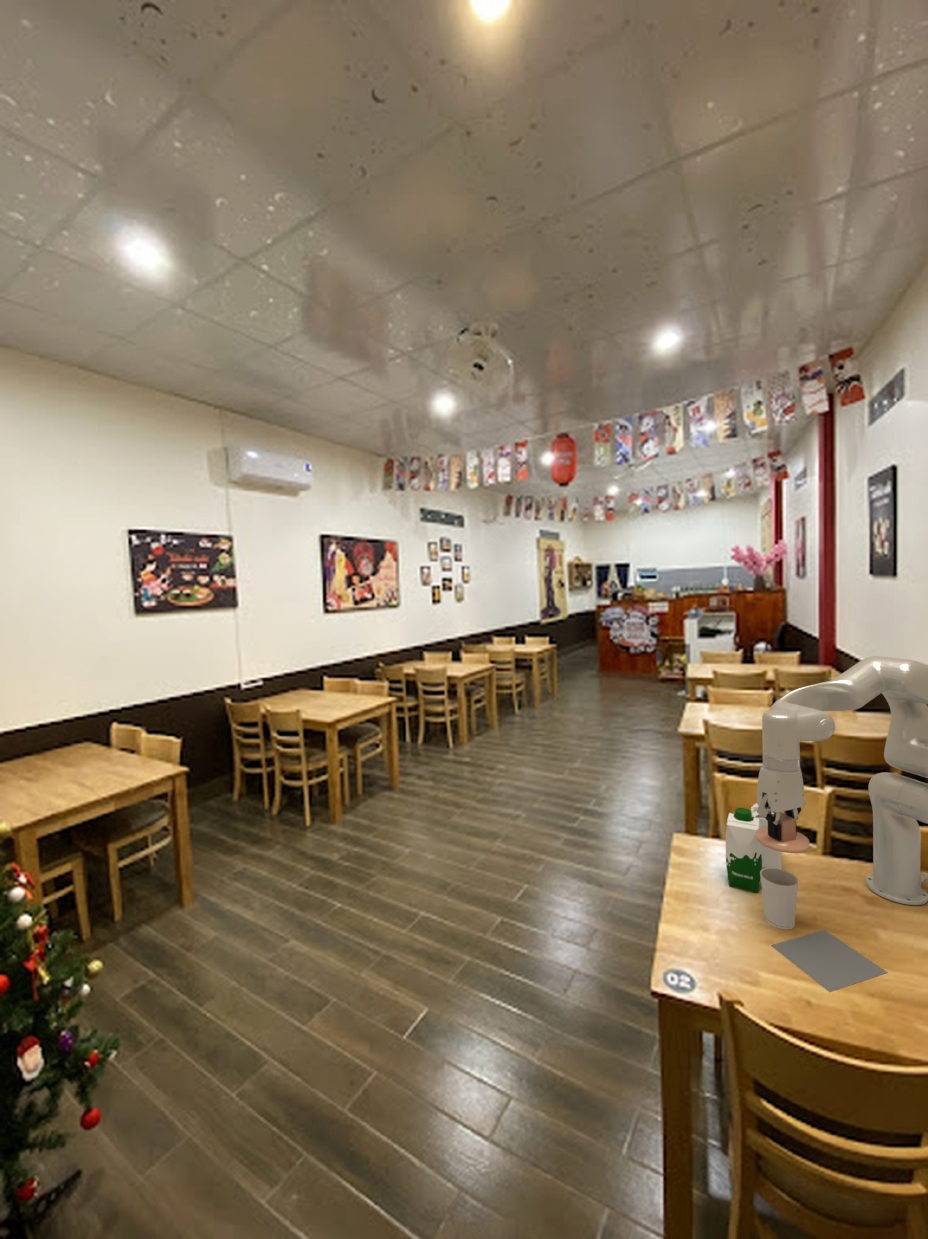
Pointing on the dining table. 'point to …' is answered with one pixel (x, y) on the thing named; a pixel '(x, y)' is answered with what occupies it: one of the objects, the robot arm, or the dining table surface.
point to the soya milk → (743, 850)
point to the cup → (779, 897)
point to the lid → (784, 837)
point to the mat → (828, 960)
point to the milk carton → (768, 855)
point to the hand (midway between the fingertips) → (782, 835)
